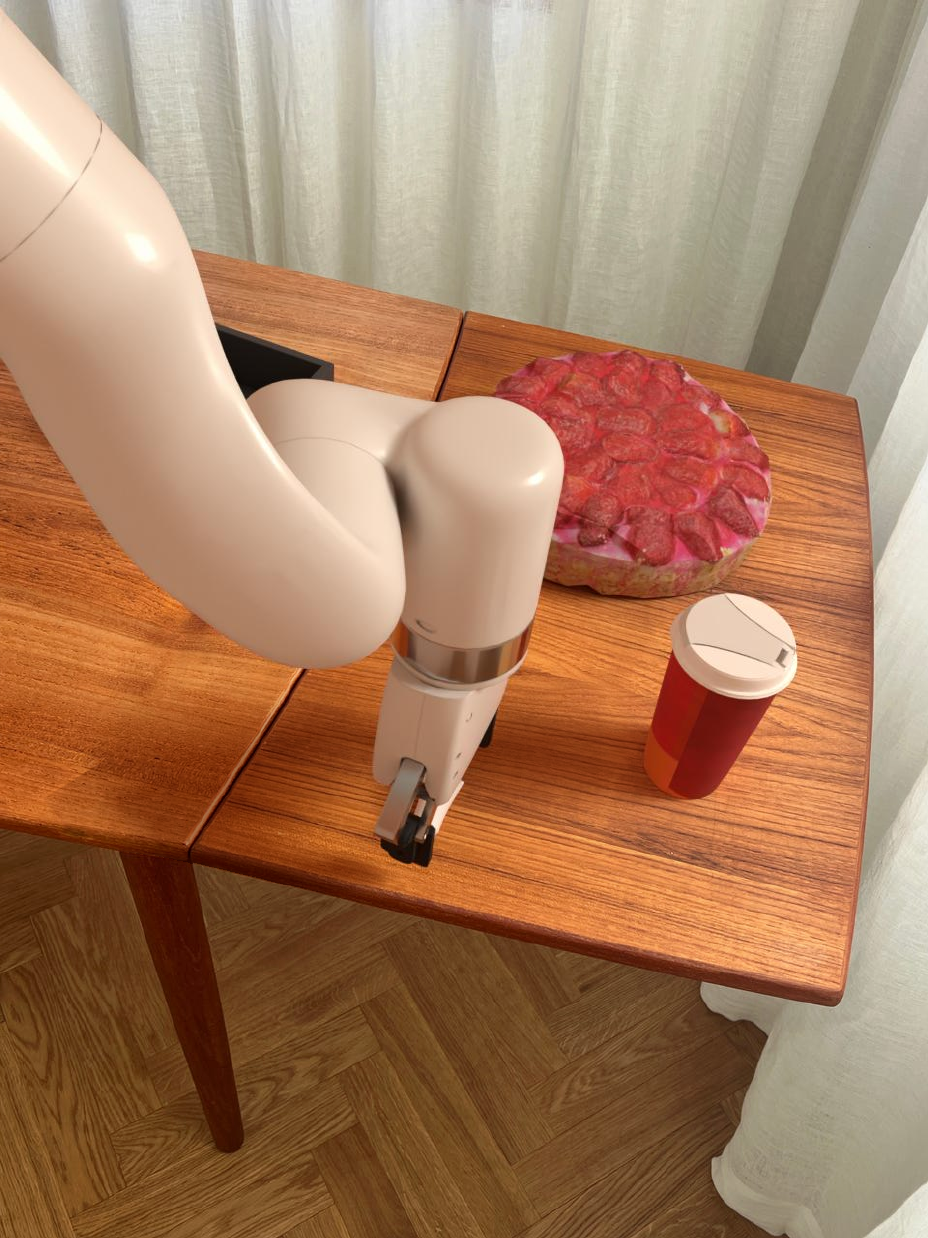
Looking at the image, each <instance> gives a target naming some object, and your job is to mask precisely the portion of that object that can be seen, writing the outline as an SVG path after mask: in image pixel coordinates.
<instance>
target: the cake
mask: <svg viewBox="0 0 928 1238" xmlns="http://www.w3.org/2000/svg"><path fill="white" fill-rule="evenodd" d="M491 397H494V398H500V399H504V400H507V401H510V402H513V403H516V404H518V405H520V406H523V407H525V408H527V409H528V410H530V411H532V412H534V413H535V414H537V415H538V416H539V417H540V418H541V419H542V420H544V421H545V422H546V424H547V425H548V426H549V427H550V428H551V430H552V431H553V432H554V434H555V436H556V437H557V439H558V441H559V443H560V447H561V450H562V454H563V459H564V475H563V482H562V488H561V493H560V498H559V503H558V508H557V513H556V517H555V522H554V527H553V532H552V537H551V542H550V546H549V551H548V556H547V561H546V566H545V570H544V575H543V579H546V580H548V581H551V582H554V583H557V584H561V585H563V586H566V587H570V586H585V585H586V586H588V587H590V588H592V589H593V590H595V591H596V592H598V593H599V594H601V595H603V596H627V597H634V598H640V599H648V598H649V599H650V598H662V597H663V598H664V597H672V596H673V597H674V596H675V597H676V596H682V595H683V596H684V595H689V594H694V593H697V592H698V593H699V592H702V591H706V590H709V589H713V588H715V587H717V585H719V584H720V583H721V582H722V581H723V580H724V579H725V578H726V577H727V576H728V575H729V574H731V573H733V572H734V571H735V570H736V569H738V568H739V567H740V566H741V565H742V562H743V561H744V559H745V558H746V557H747V555H748V553H749V552H750V550H751V549H752V548H753V546H754V545H755V544H756V543H757V542H758V540H759V539H760V538H761V537H762V534H763V532H764V530H765V527H766V526H767V522H768V519H769V516H770V513H771V509H772V508H771V507H772V502H773V489H772V488H773V487H772V479H771V478H772V477H771V469H770V459H769V455H767V454H766V453H765V452H764V451H763V450H762V448H761V447H760V446H759V444H758V441H757V440H756V438H755V435H753V432H752V430H751V429H750V427H749V425H748V423H747V422H746V420H745V419H744V418H743V417H742V416H740V415H739V414H738V413H737V412H735V411H734V410H733V409H732V408H731V407H730V406H729V405H728V403H727V402H726V401H725V400H724V398H723V397H722V396H721V395H720V394H719V393H718V392H716V391H714V390H713V389H711V388H709V387H708V386H705V385H704V384H701V383H700V382H699V381H697V380H696V379H694V378H692V376H691V375H690V374H689V373H688V371H687V369H685V368H684V366H683V365H682V364H681V363H679V362H677V361H674V360H671V359H668V358H654V359H653V358H651V357H648V356H644V355H642V354H640V353H638V352H636V351H634V350H633V349H631V348H628V349H623V350H617V351H616V350H615V351H610V352H603V353H597V352H590V351H589V352H588V351H578V352H573V353H568V354H564V355H560V356H556V357H545V356H538V357H536V358H535V359H533V360H532V361H530V362H528V363H527V364H526V365H525V366H523V367H522V368H520V369H518V370H516V371H515V372H514V373H511V374H510V375H508V376H506V377H503V378H502V379H499V380H498V384H497V386H496V388H495V390H494V392H493V394H492V395H491Z"/></svg>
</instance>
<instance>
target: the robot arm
mask: <svg viewBox="0 0 928 1238" xmlns="http://www.w3.org/2000/svg"><path fill="white" fill-rule="evenodd" d="M204 287H205V286H204V285H203V280H202V278H201V274H200V271H199V267H198V265H197V263H196V259H195V257H194V254H193V251H192V248H191V246H190V242H189V240H188V238H187V235H186V233H185V230H184V229H183V226H182V224H181V222H180V220H179V217H178V215H177V213H176V211H175V209H174V206H173V205H172V203H171V201H170V200H169V197H168V196H167V194H166V191H164V189H163V187H162V186H161V185H160V182H158V180H157V179H156V177H154V176H153V174H152V173H151V172H150V171H149V170H148V169H147V168H146V167H145V165H144V164H143V163H142V162H141V161H140V160H139V159H138V158H137V157H136V156H135V155H134V153H133V152H132V151H131V150H130V149H129V148H128V147H127V146H126V145H125V144H124V142H123V141H121V139H120V138H119V137H118V136H117V135H116V134H115V133H114V132H113V130H111V128H109V126H108V125H107V124H106V123H105V122H104V121H103V119H102V118H101V117H100V115H98V114H96V112H95V111H93V109H92V108H91V107H90V106H89V104H87V102H85V100H84V99H83V98H82V97H81V96H80V95H79V94H78V92H77V91H76V90H75V89H74V88H73V87H72V85H70V84H69V82H68V81H67V80H66V79H65V78H64V77H63V76H62V75H61V73H60V72H59V71H58V70H57V69H56V68H55V67H54V66H53V64H52V63H50V62H49V60H48V59H47V58H46V57H45V56H44V55H43V54H42V52H41V51H40V50H39V49H38V48H37V47H36V46H35V44H34V43H32V41H31V40H30V39H29V38H28V37H27V36H26V34H25V33H23V31H22V30H21V29H20V28H19V27H18V25H16V24H15V22H13V20H12V19H11V18H10V17H9V16H8V15H7V13H6V12H5V11H4V9H3V7H2V6H1V5H0V359H1V361H2V362H3V364H4V365H5V366H6V368H7V369H8V370H9V373H10V374H11V377H12V378H13V380H14V382H15V384H16V386H17V387H18V390H19V392H20V394H21V396H22V398H23V400H24V402H25V403H26V405H27V407H28V410H29V411H30V413H31V414H32V416H33V418H34V420H35V421H36V423H37V425H38V427H39V429H40V431H41V432H42V433H43V435H44V437H45V438H46V440H47V441H48V443H49V444H50V446H51V448H52V449H53V451H54V452H55V454H56V456H57V457H58V459H59V460H60V461H61V463H62V464H63V466H64V468H65V469H66V470H67V472H68V473H69V475H70V476H71V478H72V479H73V481H74V483H75V484H76V486H77V487H78V489H79V491H80V492H81V494H82V495H83V498H84V499H85V501H86V502H87V503H88V505H89V506H90V508H91V509H92V512H94V514H95V516H96V517H97V518H98V520H99V521H100V522H101V524H102V525H103V527H104V528H105V529H106V531H107V532H108V533H109V535H110V536H111V538H112V539H113V540H114V541H115V543H116V544H117V545H118V546H119V547H120V548H121V550H122V551H123V552H124V554H126V556H127V557H128V558H129V559H130V560H131V561H132V563H133V564H134V565H135V566H137V568H138V569H139V570H140V571H141V572H142V573H143V574H144V575H145V576H146V577H147V578H148V579H150V580H151V581H152V582H153V583H154V584H155V585H156V586H157V587H159V588H160V589H161V590H162V591H163V592H164V593H166V594H167V595H169V597H171V598H172V599H173V600H175V601H176V602H178V603H179V604H180V605H182V606H183V607H184V608H185V609H187V610H188V611H190V612H191V613H192V614H194V615H196V617H198V618H199V619H201V621H203V622H204V623H206V624H207V625H209V626H210V627H211V628H213V629H214V630H215V631H217V632H218V633H220V634H221V635H222V636H224V637H225V638H227V639H229V640H230V641H232V642H233V643H235V644H237V645H239V646H240V647H242V648H243V649H245V650H247V651H248V652H250V653H252V654H255V655H256V656H259V657H262V658H264V659H266V660H269V661H271V662H273V663H276V664H280V665H284V666H287V667H291V668H296V669H305V670H331V669H334V668H335V669H336V668H340V667H345V666H346V667H347V666H349V665H351V664H354V663H357V662H360V661H361V660H363V659H365V658H367V657H368V656H369V655H372V654H373V653H375V652H376V651H377V650H378V649H379V648H380V647H381V646H382V645H383V644H384V643H385V642H386V641H388V640H389V646H390V648H391V650H392V653H393V655H394V657H393V659H392V662H391V665H390V668H389V671H388V673H387V677H386V682H385V685H384V689H383V693H382V698H381V701H380V702H381V703H380V706H379V707H380V708H379V713H378V718H377V725H376V733H375V739H374V746H373V747H374V748H373V755H372V765H371V772H372V777H373V780H374V781H375V782H376V783H378V784H380V785H382V786H384V787H386V788H387V787H388V786H389V785H391V786H390V789H389V792H388V795H387V797H386V800H385V803H384V805H383V807H382V809H381V811H380V814H379V816H378V818H377V821H376V823H375V826H374V828H373V835H374V836H376V837H377V838H379V839H380V843H379V845H380V846H379V847H380V848H381V849H382V850H383V851H385V852H387V854H388V856H389V857H390V858H392V859H393V860H395V861H398V862H399V863H402V864H405V865H411V864H412V863H413V864H415V865H417V866H419V867H422V868H428V867H429V866H430V863H431V861H432V858H433V851H434V843H435V837H436V835H435V830H436V828H434V826H433V825H431V824H432V821H433V818H434V815H435V812H436V809H437V806H440V805H443V804H445V803H447V802H448V801H449V800H450V798H451V797H452V795H453V793H454V792H455V790H456V788H457V786H458V784H459V782H460V780H462V779H463V777H464V775H465V773H466V771H467V769H468V767H469V765H470V764H471V761H472V759H473V758H474V756H475V754H476V752H477V750H478V748H480V749H486V748H489V747H490V746H491V743H492V741H493V738H494V737H493V736H494V731H495V725H496V720H497V715H498V709H499V706H500V703H501V702H502V699H503V696H504V694H505V691H506V688H507V684H508V681H509V678H510V677H511V676H513V675H514V674H515V673H516V672H517V671H518V670H519V669H520V667H521V666H522V665H523V663H524V661H525V660H526V658H527V655H528V651H529V646H530V641H531V639H532V638H531V637H532V632H533V628H534V623H535V618H536V614H537V609H538V603H539V599H540V592H541V589H542V585H543V579H544V577H543V575H544V570H545V566H546V561H547V556H548V551H549V546H550V542H551V537H552V532H553V527H554V522H555V517H556V513H557V508H558V503H559V498H560V493H561V488H562V482H563V475H564V459H563V454H562V450H561V447H560V443H559V441H558V439H557V437H556V436H555V434H554V432H553V431H552V430H551V428H550V427H549V426H548V425H547V424H546V422H545V421H544V420H542V419H541V418H540V417H539V416H538V415H537V414H535V413H534V412H532V411H530V410H528V409H527V408H525V407H523V406H520V405H518V404H516V403H513V402H510V401H507V400H504V399H500V398H494V397H492V396H485V395H467V396H461V397H455V398H454V397H453V398H449V399H446V400H442V401H432V400H426V399H421V398H420V399H419V398H413V397H407V396H403V395H398V394H393V393H389V392H385V391H379V390H375V389H370V388H366V387H361V386H357V385H353V384H347V383H344V382H337V381H334V382H331V381H325V380H315V379H294V380H284V381H280V382H276V383H272V384H270V385H267V386H265V387H263V388H261V389H259V390H258V391H256V392H255V393H253V394H252V395H251V396H250V397H249V398H248V399H247V400H245V398H244V396H243V394H242V392H241V390H240V388H239V386H238V384H237V381H236V379H235V377H234V374H233V372H232V370H231V367H230V365H229V363H228V360H227V358H226V356H225V353H224V350H223V347H222V344H221V342H220V339H219V336H218V333H217V330H216V327H215V324H214V322H215V321H214V317H213V314H212V311H211V307H210V305H209V301H208V297H207V294H206V290H205V288H204ZM425 774H426V779H425V783H423V780H424V776H425ZM416 798H418V799H419V798H420V799H423V800H425V801H426V804H425V806H424V809H423V812H422V815H421V817H419V816H417V815H415V814H414V813H413V812H410V811H411V809H412V807H413V804H414V802H415V800H416Z"/></svg>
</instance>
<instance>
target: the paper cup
mask: <svg viewBox="0 0 928 1238" xmlns="http://www.w3.org/2000/svg"><path fill="white" fill-rule="evenodd" d="M669 636H670V642H671V652H670V656H669V659H668V662H667V666H666V669H665V672H664V677H663V680H662V684H661V687H660V690H659V694H658V698H657V701H656V704H655V709H654V712H653V715H652V720H651V723H650V727H649V731H648V735H647V738H646V742H645V746H644V753H643V766H644V770H645V772H646V774H647V776H648V778H649V779H650V781H651V783H653V784H654V785H655V787H657V788H658V789H660V790H661V791H662V792H664V793H666V794H667V795H669V796H672V797H673V798H678V799H682V800H698V799H702V798H705V797H707V796H709V795H711V794H712V793H714V792H715V791H716V790H717V789H718V788H719V786H720V785H721V784H722V782H723V781H724V780H725V778H726V777H727V775H728V773H729V772H730V770H731V769H732V768H733V766H734V764H735V762H736V761H737V759H738V758H739V756H740V754H741V753H742V751H743V750H744V748H745V747H746V745H747V743H748V742H749V740H750V739H751V737H752V735H753V734H754V732H755V730H756V729H757V727H758V726H759V724H760V722H761V720H762V719H763V717H764V716H765V714H766V712H767V711H768V710H769V708H770V706H771V704H772V703H773V701H774V700H775V698H776V697H777V695H778V693H780V692H782V691H783V690H784V689H785V688H787V687H788V686H789V685H790V684H791V682H792V680H793V679H794V677H795V674H796V672H797V667H798V655H797V642H796V638H795V636H794V633H793V630H792V628H791V627H790V625H789V624H788V622H787V621H786V619H785V618H784V617H783V616H782V615H781V614H780V613H779V612H778V611H777V610H775V609H774V608H773V607H771V606H769V605H768V604H766V603H764V602H763V601H760V600H759V599H756V598H754V597H750V596H747V595H744V594H740V593H739V594H738V593H729V592H727V593H719V594H715V595H710V596H708V597H705V598H703V599H701V600H699V601H697V602H694V603H692V604H690V605H688V606H687V607H686V608H685V609H684V610H682V611H680V612H679V613H678V614H677V615H676V616H675V617H674V619H673V621H672V623H671V624H670V629H669Z"/></svg>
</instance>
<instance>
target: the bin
mask: <svg viewBox="0 0 928 1238" xmlns="http://www.w3.org/2000/svg"><path fill="white" fill-rule="evenodd" d="M214 324H215V327H216V330H217V333H218V336H219V339H220V342H221V344H222V347H223V350H224V353H225V356H226V358H227V360H228V363H229V365H230V367H231V370H232V372H233V374H234V377H235V379H236V381H237V384H238V386H239V388H240V390H241V392H242V394H243V396H244V398H245V400H247V399H248V398H249V397H250V396H251V395H252V394H253V393H255V392H256V391H258V390H259V389H261V388H263V387H265V386H267V385H270V384H272V383H276V382H280V381H284V380H294V379H315V380H325V381H331V382H335V363H334V362H330V361H327V360H324V359H322V358H318V357H316V356H313V355H310V354H307V353H304V352H301V351H299V350H296V349H292V348H290V347H286V346H283V345H281V344H278V343H275V342H272V341H271V340H267V339H263V338H261V337H258V336H256V335H253V334H249V333H247V332H244V331H240V330H237V329H235V328H232V327H229V326H227V325H224V324H220V323H218V322H215V321H214Z"/></svg>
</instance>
